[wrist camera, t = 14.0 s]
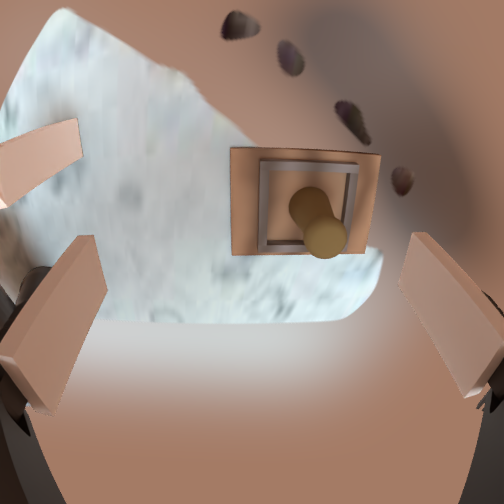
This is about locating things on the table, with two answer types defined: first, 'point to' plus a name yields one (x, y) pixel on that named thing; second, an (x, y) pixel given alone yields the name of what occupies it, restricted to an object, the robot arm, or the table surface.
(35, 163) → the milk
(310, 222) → the brown tall rounded piece
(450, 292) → the robot arm
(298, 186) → the board
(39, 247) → the table surface
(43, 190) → the table surface
